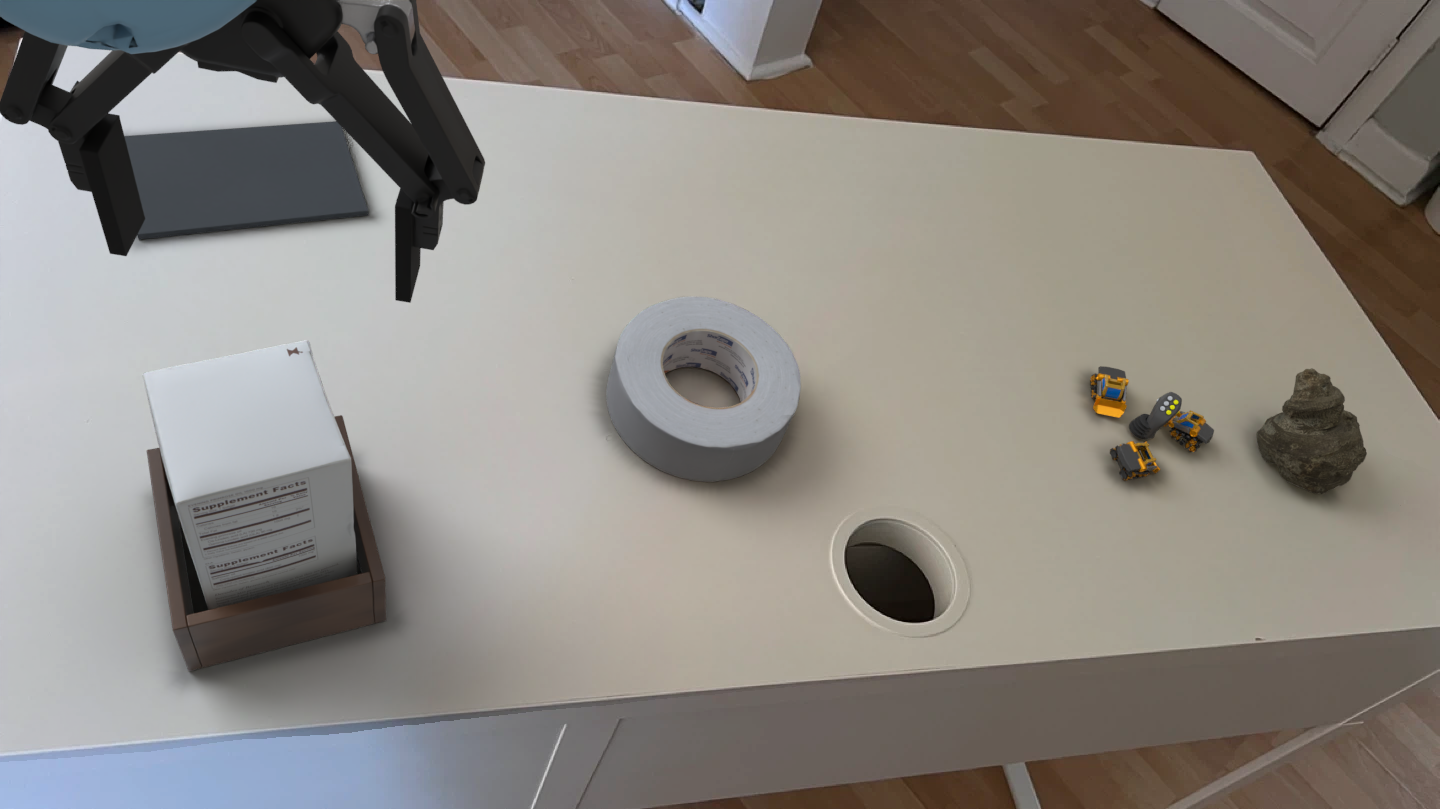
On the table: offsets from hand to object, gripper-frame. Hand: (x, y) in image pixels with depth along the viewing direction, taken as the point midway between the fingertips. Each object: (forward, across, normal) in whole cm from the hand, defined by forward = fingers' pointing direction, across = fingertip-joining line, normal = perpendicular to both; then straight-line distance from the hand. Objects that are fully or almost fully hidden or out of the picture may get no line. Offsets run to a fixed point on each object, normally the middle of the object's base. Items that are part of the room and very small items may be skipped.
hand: (271, 260), depth 54 cm
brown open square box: (+26, +1, +3) cm, 26 cm away
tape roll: (+26, -28, -16) cm, 41 cm away
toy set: (+26, -68, -20) cm, 76 cm away
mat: (+26, +13, -33) cm, 44 cm away
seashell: (+26, -86, -19) cm, 92 cm away
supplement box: (+26, +1, +3) cm, 27 cm away
